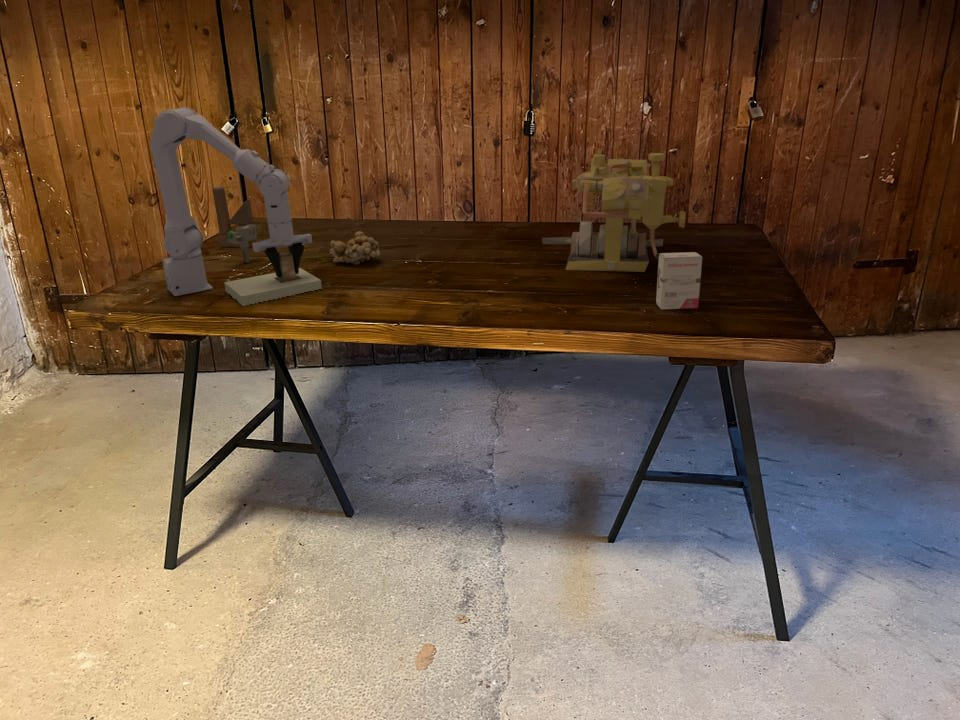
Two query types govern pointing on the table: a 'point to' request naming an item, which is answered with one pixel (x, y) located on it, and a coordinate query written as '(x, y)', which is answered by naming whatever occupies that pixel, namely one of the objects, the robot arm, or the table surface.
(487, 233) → the table surface
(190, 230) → the robot arm
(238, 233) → the mechanical component
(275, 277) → the socket board
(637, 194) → the mechanical engine
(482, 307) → the table surface
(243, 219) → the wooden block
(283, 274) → the birch peg
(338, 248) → the mineral formation
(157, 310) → the table surface
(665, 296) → the ink box
